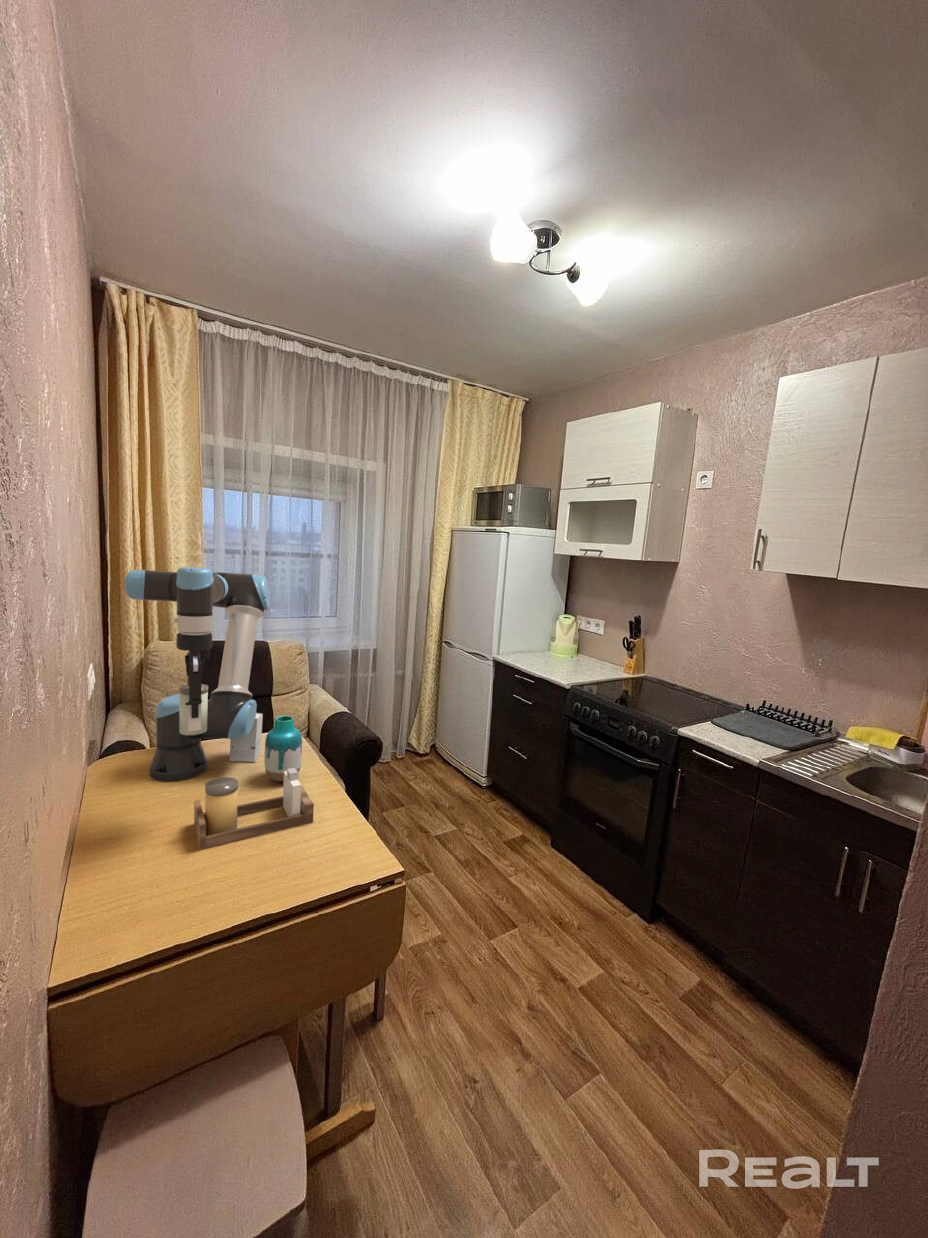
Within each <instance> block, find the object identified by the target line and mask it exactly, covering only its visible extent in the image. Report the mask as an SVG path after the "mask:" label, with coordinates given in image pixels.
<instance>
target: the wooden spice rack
mask: <svg viewBox="0 0 928 1238" xmlns="http://www.w3.org/2000/svg"><path fill="white" fill-rule="evenodd" d="M193 806H194V813H193V815H194V816H193V817H194V818H193V819H194V821H193V822H194V824H193V825H194V829H195V833H196V838H197V842H198V843H197V844H198V847H199V848H198V849H199V850H204V849H209V848H213V847H218V846H221V845H225V844H230V843H233V842H238V841H242V840H246V839H250V838H254V837H258V836H261V835H262V836H263V835H266V834H270V833H274V832H278V831H282V830H287V829H291V828H294V827H299V826H303V825H307V824H312V823H314V807H315V805H314V802H313V801H312V799H311V798H310V795H308V793H307V792H306V790H305V789H304V787H303V786H302V784H301V802H300V814H298V815H294V816H290V817H288V816H286V817H282V818H278V819H277V818H276V819H272V820H268V821H265V822H260V823H257V824H253V825H252V824H251V825H247V826H243V827H237V829H234V830H229V831H225V832H221V833H217V834H212V835H208V836H206V823H205V811H204V810H203V807H202V804H201V800H200V799H199V800H194V804H193ZM281 807H283V795H281V796H277V797H272V798H268V799H267V798H266V799H263V800H257V801H253V802H248V803H243V804H237V817H240V816H245V815H249V814H255V813H260V812H263V811H269V810H274V809H277V808H278V809H279V808H281ZM283 808H284V807H283ZM203 811H204V812H203Z"/></svg>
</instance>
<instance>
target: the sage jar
mask: <svg viewBox="0 0 928 1238" xmlns="http://www.w3.org/2000/svg"><path fill="white" fill-rule="evenodd" d="M178 692H179V693H178V694H180V709H179V733H180V734H183V735H197V734H201V733H204V732H206V731H207V712H208V697H209V685H208V684H203V683H201V700H202V703H201V730H194V731H188V705H185V703H188V701H189V684H188V683H187V684H183V685H181V686H179V687H178Z"/></svg>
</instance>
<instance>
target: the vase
mask: <svg viewBox="0 0 928 1238" xmlns="http://www.w3.org/2000/svg"><path fill="white" fill-rule="evenodd" d="M274 718H275V719H274V723H273V724H274V725H273V728H272V729H271V730H269V731H268V732H267V734H266V736H265V744H264V770H265V774H266V776H267V778H269V779H270V780H272V781H274V782H280V783H281V782H282V783H284V771H287V769H290V768H295V769H296V770H297V772H298V774H299V773H300V771H301V766H302V756H303V735H302V732H301V731H300V730H299V728H296V727H295V718H294V717H293V716H291V715H287V714H286V715H279V716H276V717H274Z"/></svg>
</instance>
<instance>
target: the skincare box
mask: <svg viewBox="0 0 928 1238" xmlns="http://www.w3.org/2000/svg"><path fill="white" fill-rule="evenodd" d="M263 717H264V715H263V713H260V712H256V716H255V721H254V724H253V727H252V729H251V731H250V733H249V734H248V735H247V736H246V737H244V738H236V739H230V742H229V743H230V744H229V745H230V748H229V762H246V763H247V762H250V763H255V762H256V760H258V758H260V756H261V749H262V748H261V747H262V735H263V734H262V733H263Z"/></svg>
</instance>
